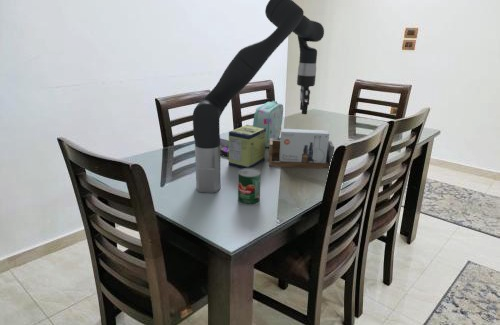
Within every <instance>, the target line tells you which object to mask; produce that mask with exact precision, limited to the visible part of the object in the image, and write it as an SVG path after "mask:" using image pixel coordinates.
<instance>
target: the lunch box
mask: <svg viewBox="0 0 500 325" xmlns="http://www.w3.org/2000/svg"><path fill="white" fill-rule="evenodd" d="M283 117H284V105H283V104H282V103H279V102H278V101H277V100H272V101H267V102H265V103H264V104H262V105H259V106H257V107H256V109H255V111H254V115H253V121H252V126H256V127H262V128H266V139H265V148H269V146H270V138H273V140H279V138H280V137H281V129H282V124H283Z"/></svg>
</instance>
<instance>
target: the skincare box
mask: <svg viewBox="0 0 500 325" xmlns="http://www.w3.org/2000/svg"><path fill="white" fill-rule="evenodd" d="M329 139H330V132H329V130H321V129H320V130H319V129H301V128H300V129H296V128H281V133H280V139H279V140H280V153H279V159H278V161H282V162H306V163H327V162H326V158H327V149H328V141H330V140H329Z"/></svg>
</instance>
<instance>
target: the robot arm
mask: <svg viewBox="0 0 500 325" xmlns="http://www.w3.org/2000/svg"><path fill="white" fill-rule="evenodd" d="M264 12H265V16H266V18H267V19H268V20H269V22H270V23H271V24H272V25H274V26H275V27H276V29H275V30H273V32H272V33H271V34H270V35H269V36H267V37H266V38H264V39H262V40H260V41H257V42H255V43H253V44H249V45H247V46H245V47H242V48H241V49H240V50H239V51H238V52H237V54H236V55H235V56H234V57H233V58H232V60H231V61H230V62H229V64H228V65H227V66H226V68H225V69H224V71H223V73H222V75H221V76H220V78H219V80H218V82H217V84H216V85H215V86H214V88H212V90H211V91H210V92H209V93H208V94H206V96H205V97H204V98H203V99H202V100H201V101H200V102H198V103H197V105H196V106H195V108H194V110H193V113H192V128H193V130H192V132H193V139H194V151H195V152H194V156H195V161H194V162H195V185H196V186H195V188H196V190H197V192H198V193H208V194H209V193H210V194H211V193H212V194H215V193H216V192H217V191H219V190H220V189H221V183H222V182H221V155H220V138H221V135H220V133H221V132H220V129H221V128H220V127H221V126H220V120H221V119H220V117H221V116H222V114H223V112H224V110H225V109H226V108H227V106H228V105H229V103H230V102H231V101H232V99H233V98H235V96H236V95H237V94H238V93H239V92H240V91H242V90H243V89H244V88H246V86H248V84H249V83H250V82H251V81H252V80H253V79H254V78H255V76H256V75H257V73H258V72H259V71H260V70H261V69H262V67H263V65H265V63H266V62H267V61H268V59H269V58H270V57H271V56H272V54H273V53H274V52H276V50H277V49H278V47H279V46H280V45H281V44H282V43H283V42H284V41H285V40H286V39H287V38H288V37H289V35H291V33H294V35H296V36H297V40H298V45H299V61H298V67H297V76H296V85H298V86H299V87H300V90H299V98H300V99H299V101H300V102H299V103H300V106H299V110H300V111H301V114H302V115H307V114H308V108H309V107H308V106H309V105H310V95H311V89H310V87H314V86H315V85H316V74H317V59H318V58H317V56H318V50H317V49H316V48H315V47H311V46H309V45H308V42H311V43H316V42H320V41H321V40H322V39H323V38H324V36H325V29H324V26H323V25H322V23H321V22H318V21H315V20H312V19H310V18H309V17H307V16H306V15H304V14H305V12H304V10H303V8H302V7H301V6H299V4H297V3H296V2H295V1H294V0H269V1H268V3H267V4H266V5H265V11H264Z"/></svg>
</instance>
